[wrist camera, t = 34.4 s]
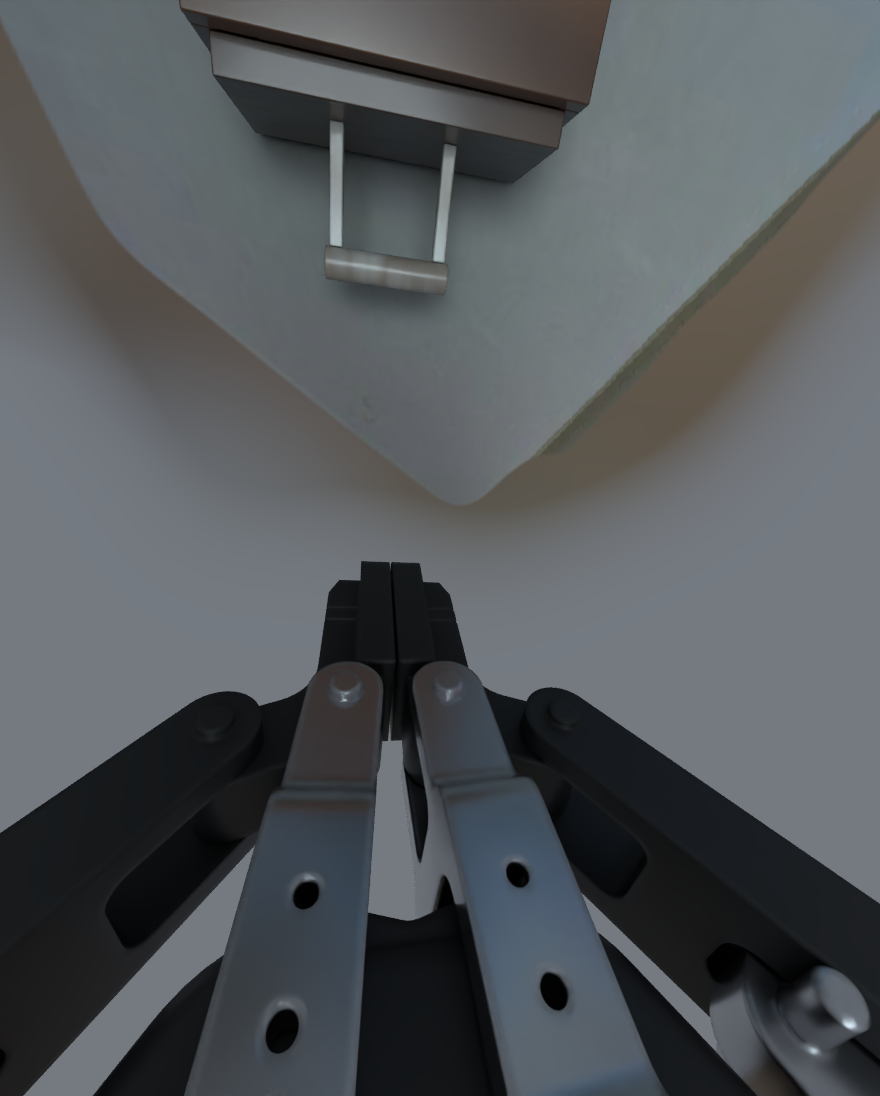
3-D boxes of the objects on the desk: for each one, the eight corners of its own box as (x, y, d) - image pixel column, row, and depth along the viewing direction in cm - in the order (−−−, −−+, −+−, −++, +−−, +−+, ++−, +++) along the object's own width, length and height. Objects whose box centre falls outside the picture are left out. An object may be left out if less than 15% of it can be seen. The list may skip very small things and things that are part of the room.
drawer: (494, 303, 27) (527, 307, 21) (264, 270, 25) (230, 264, 19) (589, -289, 17) (702, -589, 11) (219, -438, 15) (117, -919, 9)
